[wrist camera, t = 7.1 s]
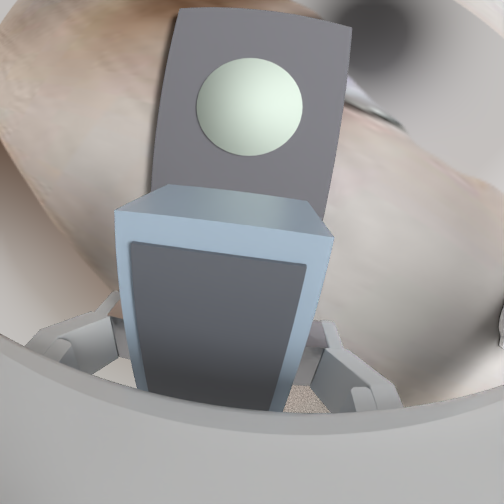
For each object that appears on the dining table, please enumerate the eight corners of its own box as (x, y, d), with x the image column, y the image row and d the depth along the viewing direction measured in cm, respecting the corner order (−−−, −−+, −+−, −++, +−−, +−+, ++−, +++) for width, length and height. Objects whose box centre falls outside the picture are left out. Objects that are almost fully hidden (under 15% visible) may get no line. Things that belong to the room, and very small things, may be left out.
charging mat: (348, 32, 19) (352, 27, 17) (318, 226, 26) (320, 230, 25) (183, 13, 18) (179, 7, 17) (154, 202, 26) (149, 205, 25)
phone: (307, 201, 10) (335, 240, 6) (268, 381, 13) (268, 450, 9) (168, 184, 10) (111, 211, 6) (170, 366, 13) (147, 431, 9)
